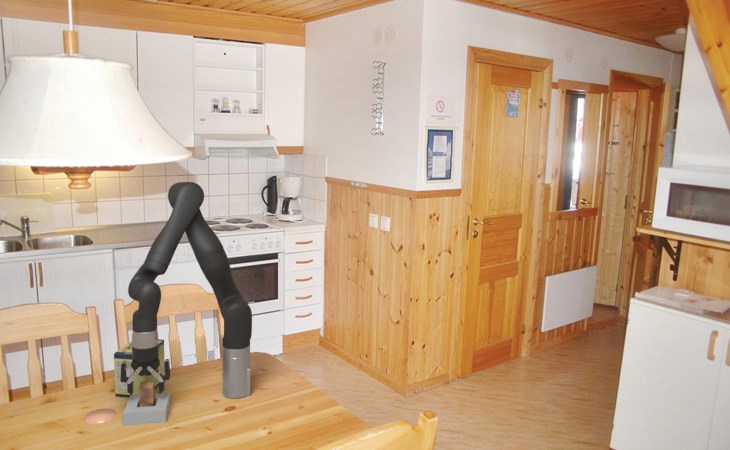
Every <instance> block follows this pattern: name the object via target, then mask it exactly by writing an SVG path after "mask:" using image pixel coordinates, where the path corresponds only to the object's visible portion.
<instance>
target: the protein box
mask: <svg viewBox="0 0 730 450" xmlns="http://www.w3.org/2000/svg"><path fill="white" fill-rule="evenodd" d="M158 357H159V360H160V361H165V360H166V359H165V340H164V339H160V338H158ZM113 361H114V362H113V367H114V390H115V391H114V393H115V397H116V398H117V397H118V398H128V399H129V397H130V393H128V392H127V383H126V382H121V381H120V378H121V364H122V362H123V361H126V362H132V340H131V341H130V342H128V343H127V344H125V345H124V346H122V348H120V349H118V350H117V351H115V352H114V353H113ZM158 369H159V370H160V372H161V373H162V374H163V376H164V375H165V368H163V367H162V365H159V367H158ZM133 371H134V370H133V369H132V367H131V366H129V368H128V369H127V370H126V377H130V375H131V374H132V373H133ZM147 381H155V390H156V389H157V388H159V380H158V379H157V378H155V377H154V376H153V375H151V376H147V375H144V376H140V375H137V376H136V377H135V378H134V379H133V394H132V395H139V386H140V383H141V382H147Z"/></svg>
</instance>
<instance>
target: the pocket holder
mask: <svg viewBox="0 0 730 450" xmlns="http://www.w3.org/2000/svg"><path fill="white" fill-rule="evenodd" d="M170 407H171V392H162V393H159V392H158V393H157V392H155V406H147V407H140V403H139V395H130V397H129V398H128V399H127V403H126V406H125V408H124V410H123V411H122V412H123V413H122V415H123V416H122V417H123V419H122V420H123V426H125V427H126V426H137V425H149V424H150V425H151V424H164V423H166V422H167V419H168V415H169V412H170Z"/></svg>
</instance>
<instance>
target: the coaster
mask: <svg viewBox="0 0 730 450" xmlns="http://www.w3.org/2000/svg"><path fill="white" fill-rule="evenodd" d="M116 416H117V412H116V410H115V409H112V408H98V409H95V410H91V411H89V412H87V413H86V414H85V415H84V416H83V421H84V422H85V423H87V424H89V425H90V424H91V425H98V424H104V423H107V422H109V421H112V420H113V419H114V418H115V417H116Z"/></svg>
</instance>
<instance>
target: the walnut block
mask: <svg viewBox="0 0 730 450" xmlns="http://www.w3.org/2000/svg"><path fill="white" fill-rule="evenodd" d="M155 393H156V389H155V381H147V382H141V383H140V386H139V403H140V407H147V406H155Z"/></svg>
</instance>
